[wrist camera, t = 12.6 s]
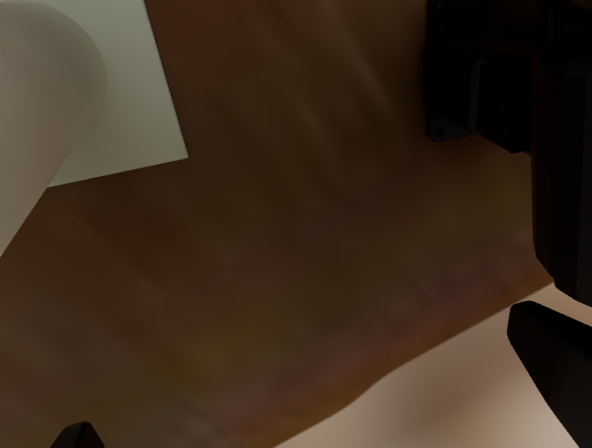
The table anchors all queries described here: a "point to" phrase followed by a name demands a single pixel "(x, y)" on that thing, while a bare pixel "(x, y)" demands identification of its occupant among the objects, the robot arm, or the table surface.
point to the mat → (122, 94)
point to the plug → (41, 102)
